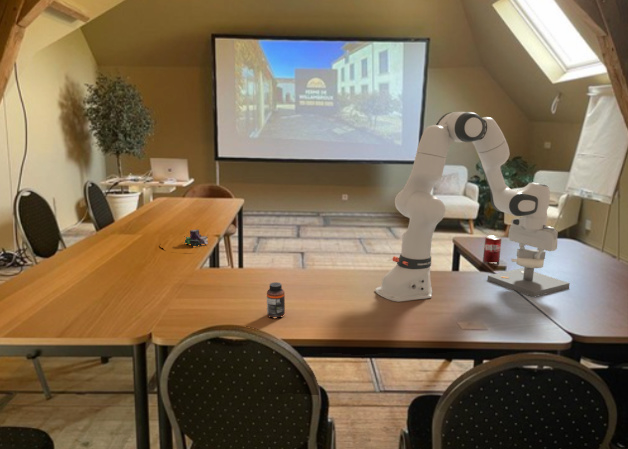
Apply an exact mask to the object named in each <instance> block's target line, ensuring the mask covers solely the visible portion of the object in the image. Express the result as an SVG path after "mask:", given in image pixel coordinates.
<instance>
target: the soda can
mask: <svg viewBox="0 0 628 449" xmlns="http://www.w3.org/2000/svg"><path fill="white" fill-rule="evenodd" d="M501 249H502V238H501V237H500V236H497V235H487V236H485V238H484V246H483V257H482V261H483V263H485V262H486V263H485V264H488V263H489V262H499V263H500V258H501Z"/></svg>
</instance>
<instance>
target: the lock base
mask: <svg viewBox="0 0 628 449" xmlns="http://www.w3.org/2000/svg"><path fill="white" fill-rule="evenodd" d="M487 281H489V282H492V283H495V284H497V285H500V286H503V287H505V288H508V289H511V290H513V291H516V292H519V293H522V294H525V295H527V294H528V295H527V296H529V295H530V297H532V296H533V297H532V298H535V296H536V297H539V296H538V295H540V296H543V294H544V295H547V294H550V293H555V292H559V291H562V290H565V289H566V290H567V289H570V282H568V281H565V280H562V279H558V278H555V277H552V276H549V275H546V274H542V273H539V272H537V271H536V272H535V268H527V267H522V268H521V267H520V268H516V269H512V270H508V271H504V272H498V273H494V274H490V275H487Z"/></svg>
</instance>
